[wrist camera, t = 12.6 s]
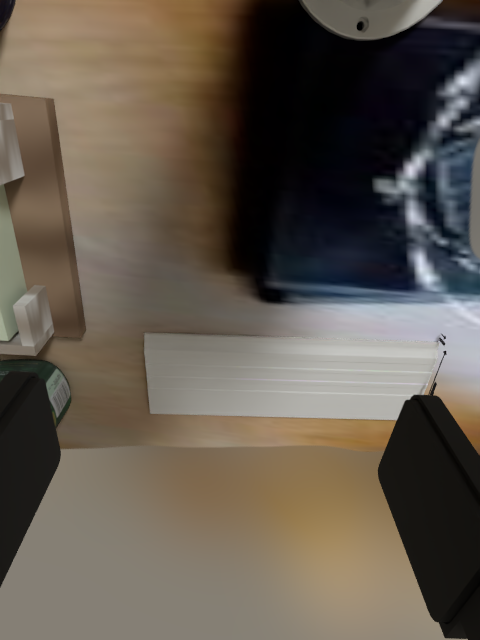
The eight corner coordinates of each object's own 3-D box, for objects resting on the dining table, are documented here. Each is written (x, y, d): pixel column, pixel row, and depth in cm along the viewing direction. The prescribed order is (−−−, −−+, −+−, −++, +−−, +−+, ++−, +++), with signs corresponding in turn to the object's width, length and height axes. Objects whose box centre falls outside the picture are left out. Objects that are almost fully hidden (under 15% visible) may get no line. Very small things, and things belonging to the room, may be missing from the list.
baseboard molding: (144, 316, 39) (152, 404, 45) (138, 332, 37) (147, 422, 43) (440, 327, 40) (409, 411, 47) (454, 342, 38) (419, 429, 44)
